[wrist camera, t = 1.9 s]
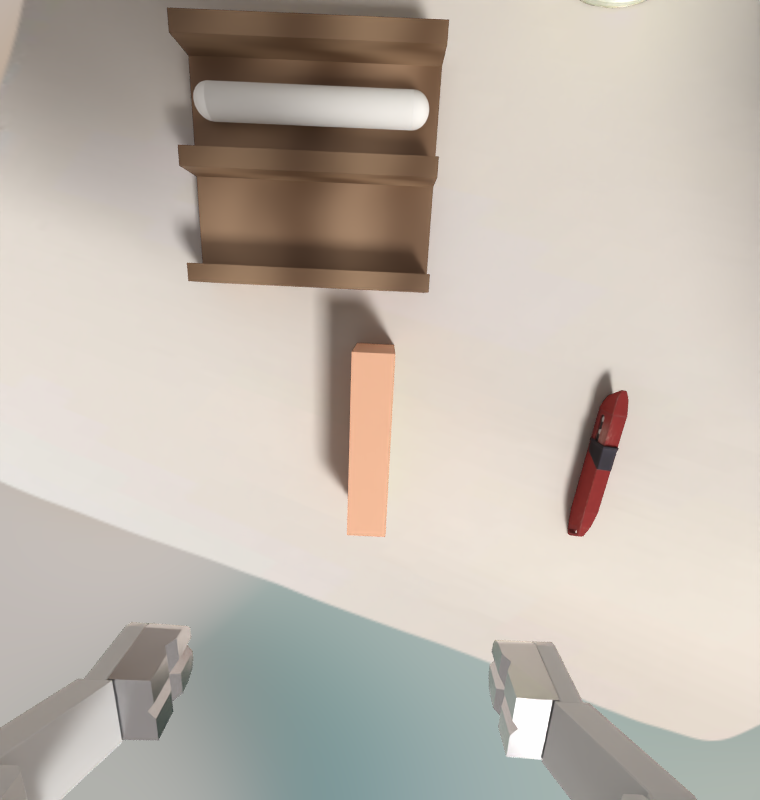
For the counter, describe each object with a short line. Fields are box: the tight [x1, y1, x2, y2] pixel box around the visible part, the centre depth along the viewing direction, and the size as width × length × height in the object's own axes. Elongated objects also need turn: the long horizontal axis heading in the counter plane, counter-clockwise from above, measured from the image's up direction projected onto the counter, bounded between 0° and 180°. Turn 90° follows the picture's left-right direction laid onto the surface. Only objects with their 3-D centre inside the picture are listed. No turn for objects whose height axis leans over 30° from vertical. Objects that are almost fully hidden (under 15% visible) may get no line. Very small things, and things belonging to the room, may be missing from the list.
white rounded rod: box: [193, 80, 429, 130], centre depth 21 cm, size 13×2×2 cm, turn 87°
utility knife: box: [568, 390, 628, 537], centre depth 28 cm, size 12×1×2 cm, turn 173°
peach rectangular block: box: [347, 343, 395, 537], centre depth 26 cm, size 12×2×4 cm, turn 178°
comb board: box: [167, 8, 449, 293], centre depth 23 cm, size 14×13×3 cm
